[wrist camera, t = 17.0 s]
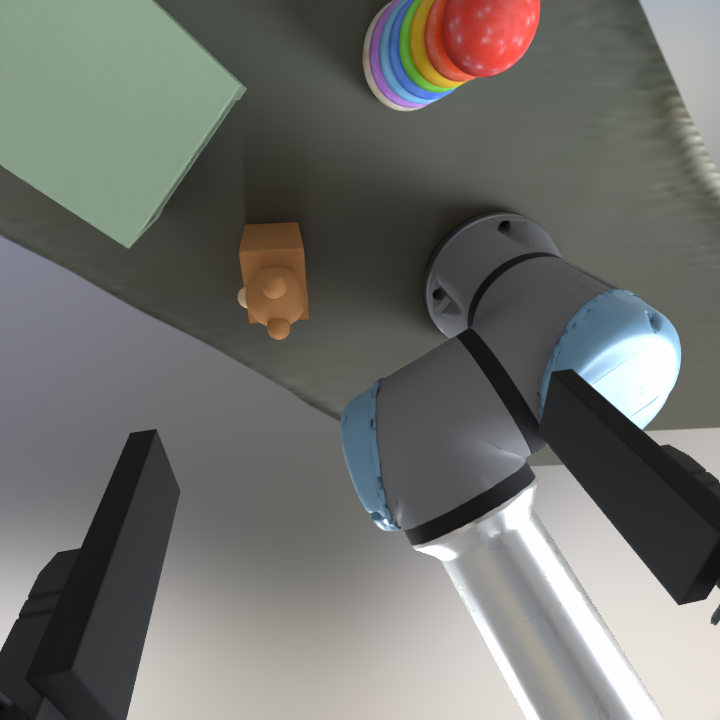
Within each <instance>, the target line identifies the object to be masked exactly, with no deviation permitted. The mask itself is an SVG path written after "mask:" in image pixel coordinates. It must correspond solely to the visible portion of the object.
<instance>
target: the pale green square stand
mask: <svg viewBox="0 0 720 720" xmlns="http://www.w3.org/2000/svg"><path fill="white" fill-rule="evenodd" d="M246 90H247V88H246V87H245V86H244V85H243V84H242V83H241V82H240V81H239V80H238V79H237V78H236V77H235V76H234V75H233V74H232V73H230V72H229V71H228V70H227V69H226V68H225V67H224V66H223V65H222V64H221V63H220V62H219V61H218V60H217V59H216V58H215V57H214V56H213V55H212V54H211V53H210V52H209V51H207V50H206V49H205V48H204V47H203V46H202V45H201V44H200V43H199V42H198V41H197V40H196V39H195V38H194V37H193V36H192V35H191V34H190V33H189V32H188V31H187V30H186V29H184V28H183V27H182V26H181V25H180V24H179V23H178V22H177V21H176V20H175V19H174V18H173V17H172V16H171V15H170V14H169V13H168V12H167V11H166V10H165V9H164V8H163V7H161V6H160V5H159V4H158V3H157V2H156V1H155V0H0V165H1V166H2V167H4V168H5V169H7V170H8V171H10V172H12V173H13V174H15V175H16V176H18V177H19V178H21V179H22V180H24V181H25V182H27V183H28V184H30V185H31V186H33V187H35V188H36V189H38V190H39V191H41V192H42V193H44V194H45V195H47V196H48V197H50V198H51V199H53V200H54V201H56V202H57V203H59V204H61V205H62V206H64V207H65V208H67V209H68V210H70V211H71V212H73V213H74V214H76V215H77V216H79V217H80V218H82V219H84V220H85V221H87V222H88V223H90V224H91V225H93V226H94V227H96V228H97V229H99V230H100V231H102V232H103V233H105V234H106V235H108V236H110V237H111V238H113V239H114V240H116V241H117V242H119V243H120V244H122V245H123V246H125V247H126V248H130V247H131V246H132V245H133V244H134V242H135V241H136V240H137V239H138V238H139V237H140V236H141V235H142V234H143V233H144V232H145V231H146V230H147V229H148V228H149V227H150V226H151V225H152V224H153V223H154V222H155V221H156V220H157V219H158V218H159V216H160V215H161V213H162V212H163V210H164V206H165V204H166V203H167V201H168V200H169V198H170V197H171V196H172V194H173V193H174V191H175V190H176V188H177V187H178V185H179V184H180V182H181V181H182V180H183V178H184V177H185V175H186V174H187V172H188V171H189V169H190V168H191V166H192V165H193V164H194V162H195V161H196V159H197V158H198V156H199V155H200V153H201V152H202V150H203V149H204V147H205V146H206V145H207V143H208V142H209V140H210V139H211V137H212V136H213V134H214V133H215V131H216V130H217V129H218V127H219V126H220V124H221V123H222V121H223V120H224V118H225V117H226V115H227V114H228V113H229V111H230V110H231V108H232V107H233V105H234V104H235V102H236V100H240V99H241V97H242V96H243V94H244V93H245V91H246Z"/></svg>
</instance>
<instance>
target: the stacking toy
mask: <svg viewBox="0 0 720 720" xmlns="http://www.w3.org/2000/svg"><path fill="white" fill-rule="evenodd" d="M539 16H540V0H393V1H391V2H390V3H388V4H387V5H385V6H384V7H383V8H382V9H381V10H380V11H379V12H378V13H377V14H376V16H375V17H374V19H373V20H372V22H371V24H370V26H369V28H368V30H367V33H366V36H365V41H364V46H363V68H364V73H365V77H366V80H367V82H368V85H369V87H370V89H371V90H372V92H373V93H374V95H375V96H376V97H377V98H378V99H379V100H380V101H381V102H382V103H384V104H385V105H387V106H388V107H390V108H393V109H395V110H399V111H413V110H417V109H420V108H422V107H425V106H426V105H428V104H430V103H432V102H434V101H436V100H438V99H440V98H442V97H444V96H446V95H448V94H450V93H451V92H453V91H454V90H455V89H456V88H457V87H458V86H460V85H462V84H464V83H465V82H467V81H470V80H472V79H475V78H477V77H489V76H493V75H497V74H499V73H502V72H504V71H505V70H507V69H508V68H510V67H511V66H512V65H513V64H515V63H516V62H517V61H518V60H519V59H520V58H521V57H522V56H523V54H524V53H525V52H526V50H527V48H528V47H529V45H530V43H531V41H532V39H533V37H534V35H535V32H536V29H537V26H538V21H539Z"/></svg>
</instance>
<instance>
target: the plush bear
mask: <svg viewBox="0 0 720 720" xmlns="http://www.w3.org/2000/svg"><path fill="white" fill-rule="evenodd" d="M239 258H240V264H241V271H242V278H243V284H244V287H243V288H242V289H241V290H240V291H239V293H238V301H239V303H240V304H241V305H242V306H243V307H245V308H247V310H248V317H249V323H250V324H251V323H261V324H263V325H266V326H267V331H268V334H269V335H270V336H271V337H272V338H274V339H277V340H281V339H284V338H286V337H287V336H288V335H289V333H290V324H292V323H293V322H295V321H296V320H300V319H309V310H308V297H307V283H306V269H305V255H304V247H303V242H302V238H301V234H300V229H299V225H298V222H290V223H269V224H247V225H244V229H243V234H242V239H241V244H240V248H239Z"/></svg>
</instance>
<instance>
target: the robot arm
mask: <svg viewBox="0 0 720 720" xmlns="http://www.w3.org/2000/svg"><path fill="white" fill-rule="evenodd" d="M423 298H424V303H425V307H426V309H427V312H428V314H429V316H430V317H431V319H432V320H433V322H434V323H435V324H436V326H437V327H438V328H439V329H440V331H441V332H443V333H444V334H445V335H446V336H447V337H449V338H451V339H449V340H448V341H446V342H444V343H443V344H441V345H440V346H438V347H437V348H435V349H433V350H432V351H430V352H428V353H427V354H425V355H423V356H422V357H420V358H418V359H417V360H415V361H413V362H411V363H410V364H408V365H406V366H405V367H403V368H401V369H400V370H398V371H396V372H395V373H393V374H391V375H390V376H388V377H386V378H385V379H384V378H380V379H378V380H377V381H376V382H375V384H374V385H373V386H372V387H370V388H369V389H368V390H366V391H365V392H363V393H362V394H360V395H359V396H357V397H356V398H354V399H353V400H351V401H350V402H349V403H348V404H347V406H346V407H345V409H344V411H343V413H342V417H341V442H342V448H343V453H344V457H345V460H346V464H347V467H348V470H349V473H350V476H351V479H352V482H353V484H354V487H355V489H356V491H357V494H358V496H359V498H360V500H361V502H362V504H363V506H364V507H365V509H366V510H367V511H368V512H370V514H371V517H372V519H373V521H374V522H375V523H376V524H377V526H378V527H380V528H381V529H383V530H386V531H392V530H393V531H397V530H399V529H401V528H403V530H404V532H405V533H406V535H407V537H408V539H409V541H410V543H411V545H412V547H413V548H414V549H415V550H418V551H421V552H424V553H427V554H430V555H433V556H436V557H437V558H438V559H440V560H441V562H442V563H443V565H444V567H445V569H446V571H447V573H448V574H449V576H450V578H451V580H452V582H453V584H454V586H455V587H456V589H457V591H458V593H459V594H460V596H461V598H462V600H463V602H464V604H465V606H466V608H467V609H468V611H469V613H470V615H471V617H472V619H473V620H474V622H475V624H476V626H477V628H478V630H479V632H480V634H481V635H482V637H483V639H484V641H485V643H486V645H487V646H488V648H489V650H490V652H491V654H492V655H493V658H494V659H495V661H496V663H497V665H498V667H499V669H500V670H501V672H502V674H503V676H504V678H505V680H506V681H507V683H508V685H509V687H510V689H511V691H512V692H513V694H514V696H515V698H516V700H517V702H518V704H519V705H520V707H521V709H522V711H523V713H524V715H525V717H526V718H527V720H666V719H665V718H664V716H663V714H662V713H661V711H660V709H659V708H658V706H657V705H656V703H655V701H654V700H653V698H652V697H651V695H650V694H649V692H648V690H647V689H646V687H645V686H644V684H643V683H642V681H641V679H640V678H639V676H638V674H637V673H636V671H635V670H634V668H633V666H632V665H631V663H630V662H629V660H628V658H627V657H626V655H625V654H624V652H623V650H622V649H621V647H620V646H619V644H618V642H617V641H616V639H615V638H614V636H613V635H612V633H611V631H610V630H609V628H608V626H607V625H606V623H605V622H604V620H603V619H602V617H601V615H600V614H599V612H598V611H597V609H596V607H595V606H594V604H593V603H592V601H591V599H590V598H589V596H588V595H587V593H586V591H585V590H584V588H583V587H582V585H581V583H580V582H579V580H578V579H577V577H576V575H575V574H574V572H573V571H572V569H571V568H570V566H569V564H568V563H567V561H566V560H565V558H564V556H563V555H562V553H561V552H560V550H559V548H558V547H557V545H556V544H555V542H554V540H553V539H552V537H551V536H550V534H549V532H548V531H547V529H546V528H545V526H544V524H543V523H542V521H541V520H540V518H539V516H538V515H537V513H536V512H535V510H534V505H533V501H534V496H535V492H536V487H537V482H538V479H537V477H536V476H535V474H534V473H533V471H532V470H531V469H530V467H529V465H528V464H527V462H526V460H525V459H526V457H528V456H529V455H531V454H533V453H535V452H537V451H538V450H540V449H542V448H544V447H546V446H548V445H549V446H550V448H551V449H552V450H553V451H554V453H555V454H556V455H557V456H558V458H559V459H560V460H561V461H562V462H563V464H564V465H565V466H566V467H567V469H568V470H569V471H570V472H571V474H572V475H573V476H574V477H575V478H576V479H577V481H578V482H579V483H580V485H581V486H582V487H583V488H584V490H585V491H586V492H587V493H588V494H589V496H590V497H591V498H592V499H593V500H594V502H595V503H596V504H597V506H598V507H599V508H600V509H601V510H602V512H603V513H604V514H605V515H606V517H607V518H608V519H609V520H610V521H611V523H612V524H613V525H614V526H615V528H616V529H617V530H618V531H619V533H620V534H621V535H622V536H623V537H624V539H625V540H626V541H627V542H628V544H629V545H630V546H631V547H632V548H633V550H634V551H635V552H636V553H637V555H638V556H639V557H640V558H641V560H642V561H643V562H644V563H645V564H646V566H647V567H648V568H649V569H650V571H651V572H652V573H653V574H654V576H655V577H656V578H657V579H658V580H659V582H660V583H661V584H662V585H663V587H664V588H665V589H666V590H667V592H668V593H669V594H670V595H671V597H672V598H673V599H674V600H675V601H676V603H677V604H678V605H682V604H687V603H691V602H696V601H700V600H704V599H706V598H707V597H708V595H709V593H710V592H711V591H712V589H713V588H714V586H715V585H717V587H718V588H719V589H720V483H719V480H718V479H716V478H715V477H714V476H713V475H712V474H711V473H709V472H706V470H705V468H703V467H702V466H701V465H700V464H699V463H697V462H696V461H695V460H694V459H693V458H691V457H690V456H689V455H687V454H685V453H684V452H681V451H680V450H678V449H676V448H674V447H672V446H670V445H663V446H659V445H658V444H657V443H656V442H655V441H654V440H652V439H651V438H650V437H649V436H648V435H647V434H646V433H645V432H643V431H642V429H643V428H644V427H645V426H646V425H647V424H648V423H649V422H650V421H651V420H652V419H653V418H654V416H655V415H656V414H657V413H658V412H659V410H660V409H661V408H662V406H663V405H664V403H665V402H666V399H667V397H668V395H669V393H670V392H671V390H672V388H673V387H674V384H675V382H676V379H677V376H678V373H679V368H680V362H681V347H680V341H679V337H678V335H677V332H676V330H675V328H674V327H673V325H672V324H671V322H670V321H669V320H668V319H667V318H666V317H665V316H664V315H662V314H661V313H660V312H658V311H657V310H655V309H654V308H652V307H651V306H649V305H648V304H647V303H645V302H644V301H642V300H641V299H640V298H638V296H637V295H636V294H634V293H633V292H630V291H628V290H624V289H620V288H618V287H616V286H615V285H613V284H611V283H609V282H607V281H605V280H603V279H601V278H599V277H597V276H595V275H593V274H591V273H590V272H588V271H586V270H584V269H582V268H580V267H578V266H576V265H574V264H572V263H570V262H568V261H566V260H564V259H563V258H562V256H561V255H560V253H559V251H558V249H557V248H556V246H555V244H554V243H553V241H552V239H551V238H550V236H549V235H548V233H547V232H546V231H545V230H544V229H543V228H542V227H541V226H540V225H538V224H537V223H535V222H534V221H532V220H530V219H528V218H525V217H523V216H521V215H518V214H515V213H510V212H490V213H485V214H481V215H478V216H475V217H473V218H471V219H469V220H467V221H465V222H463V223H462V224H460V225H459V226H457V227H456V228H455V229H453V230H452V231H451V232H450V233H449V234H448V235H447V236H446V237H445V238H444V239H443V240H442V241H441V243H440V244H439V245H438V247H437V248H436V249H435V251H434V253H433V254H432V256H431V258H430V260H429V263H428V265H427V268H426V271H425V275H424V280H423ZM179 495H180V489H179V487H178V484H177V481H176V479H175V476H174V474H173V472H172V469H171V466H170V463H169V461H168V458H167V456H166V453H165V450H164V448H163V445H162V442H161V440H160V437H159V434H158V432H157V429H155V430H147V431H141V432H134V433H130V435H129V438H128V440H127V442H126V444H125V447H124V449H123V451H122V454H121V456H120V458H119V461H118V463H117V465H116V468H115V470H114V472H113V475H112V477H111V479H110V482H109V484H108V486H107V488H106V491H105V493H104V495H103V498H102V500H101V502H100V505H99V507H98V509H97V512H96V514H95V516H94V519H93V521H92V523H91V526H90V528H89V530H88V533H87V535H86V537H85V539H84V542H83V544H82V547H81V548H80V549H74V550H69V551H63V552H58V553H57V554H56V555H55V556H54V557H53V558H52V560H51V561H50V562H49V563H48V564H47V565H46V566H45V567H44V569H43V570H42V571H41V572H40V573H39V575H38V577H37V579H36V581H35V583H34V585H33V587H32V589H31V591H30V593H29V595H28V600H26V601H25V603H24V605H23V607H22V609H21V611H20V613H19V619H17V620H16V621H15V623H14V625H13V627H12V629H11V632H10V634H9V636H8V638H7V639H6V642H5V643H4V645H3V647H2V650H1V652H0V720H126V718H127V714H128V710H129V706H130V702H131V697H132V693H133V689H134V685H135V680H136V676H137V672H138V668H139V664H140V659H141V655H142V651H143V646H144V642H145V638H146V634H147V630H148V626H149V621H150V617H151V613H152V608H153V604H154V600H155V596H156V592H157V588H158V583H159V579H160V575H161V571H162V566H163V562H164V558H165V554H166V549H167V545H168V541H169V537H170V533H171V528H172V524H173V520H174V516H175V511H176V507H177V503H178V499H179ZM719 621H720V605H719V606H718V608H717V609H716V611H715V612H714V613H713V615H712V618H711V624H714V625H717V623H718V622H719Z"/></svg>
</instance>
